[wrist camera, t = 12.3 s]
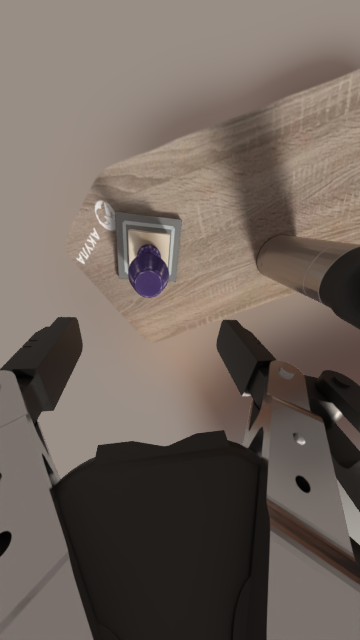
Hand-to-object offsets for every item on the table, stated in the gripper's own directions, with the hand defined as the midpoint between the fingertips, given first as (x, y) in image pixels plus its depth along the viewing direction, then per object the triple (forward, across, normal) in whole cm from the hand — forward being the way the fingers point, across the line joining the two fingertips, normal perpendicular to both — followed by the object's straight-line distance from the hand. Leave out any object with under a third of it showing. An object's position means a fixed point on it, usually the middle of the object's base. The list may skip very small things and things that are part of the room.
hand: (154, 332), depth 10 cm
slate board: (+30, 0, 0) cm, 30 cm away
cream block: (+29, 0, 0) cm, 29 cm away
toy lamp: (+25, 0, 0) cm, 25 cm away
